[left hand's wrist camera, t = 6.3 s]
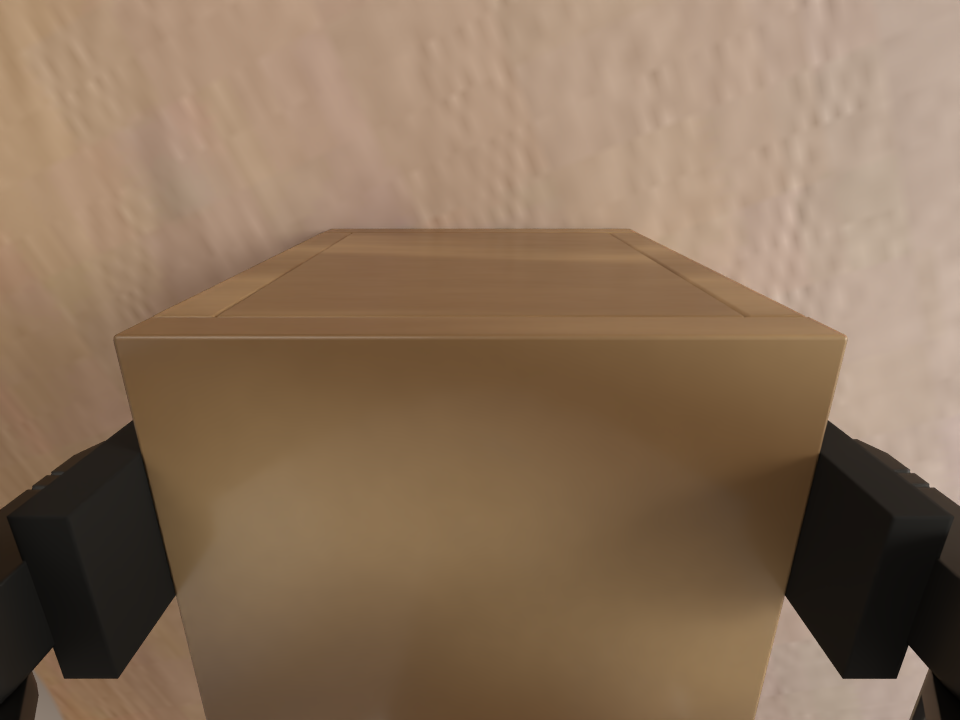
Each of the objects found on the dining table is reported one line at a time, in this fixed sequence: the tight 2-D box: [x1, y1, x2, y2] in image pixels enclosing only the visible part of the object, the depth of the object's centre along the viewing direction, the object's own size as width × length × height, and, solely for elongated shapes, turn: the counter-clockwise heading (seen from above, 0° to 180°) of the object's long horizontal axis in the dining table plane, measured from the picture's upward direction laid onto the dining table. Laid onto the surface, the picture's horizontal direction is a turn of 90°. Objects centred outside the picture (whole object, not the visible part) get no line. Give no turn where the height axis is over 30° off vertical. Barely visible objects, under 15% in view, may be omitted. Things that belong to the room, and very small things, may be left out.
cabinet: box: [114, 229, 847, 720], centre depth 16 cm, size 16×10×12 cm, turn 0°
